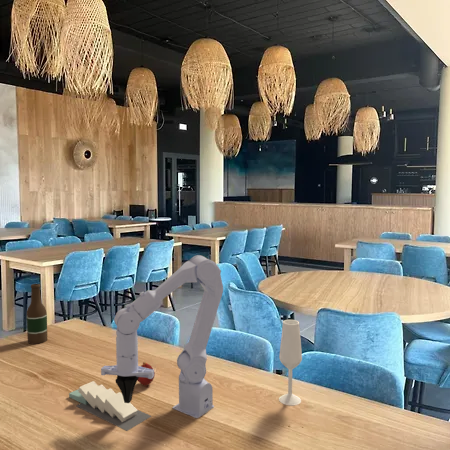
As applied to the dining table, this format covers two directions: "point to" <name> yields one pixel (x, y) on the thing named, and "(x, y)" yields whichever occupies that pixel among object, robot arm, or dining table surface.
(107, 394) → the domino
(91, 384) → the domino
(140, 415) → the runner mat
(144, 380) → the onion
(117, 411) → the domino
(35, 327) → the beer bottle
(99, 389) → the domino
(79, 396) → the domino
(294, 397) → the champagne flute
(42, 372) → the dining table surface
